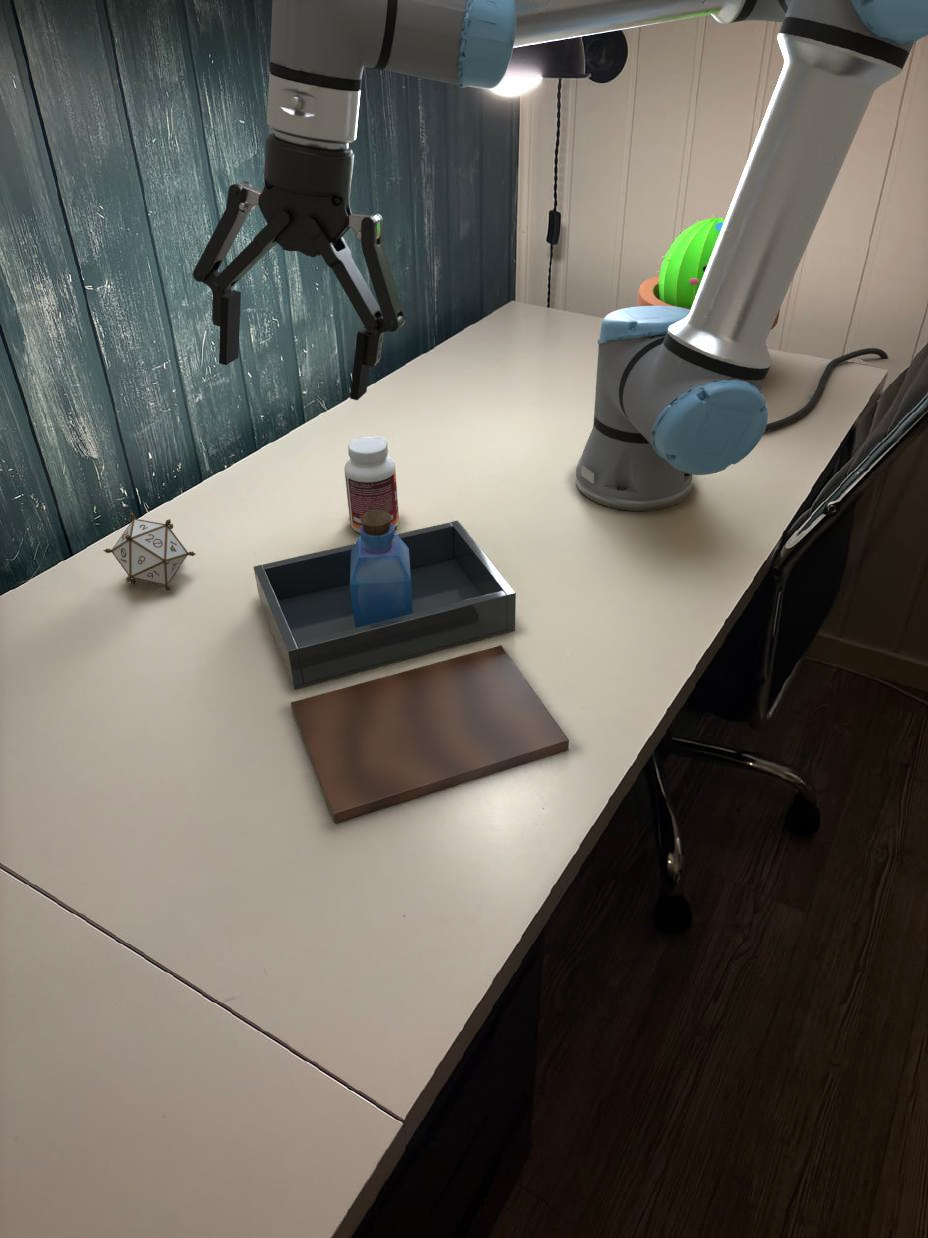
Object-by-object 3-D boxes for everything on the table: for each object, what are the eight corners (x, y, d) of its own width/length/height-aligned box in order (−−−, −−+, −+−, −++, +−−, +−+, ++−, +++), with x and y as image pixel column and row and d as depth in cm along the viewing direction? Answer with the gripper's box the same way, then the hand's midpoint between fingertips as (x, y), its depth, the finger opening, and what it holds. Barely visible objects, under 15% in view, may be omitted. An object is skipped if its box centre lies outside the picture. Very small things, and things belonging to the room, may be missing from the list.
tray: (458, 555, 109) (458, 520, 107) (515, 630, 98) (516, 592, 95) (260, 602, 102) (253, 566, 99) (294, 689, 90) (287, 651, 88)
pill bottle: (408, 527, 115) (403, 447, 108) (365, 542, 112) (357, 461, 106) (384, 506, 119) (377, 428, 112) (341, 521, 116) (332, 441, 110)
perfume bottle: (356, 598, 102) (345, 504, 95) (411, 595, 102) (405, 500, 95) (355, 632, 97) (344, 535, 90) (413, 628, 97) (407, 532, 90)
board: (501, 653, 94) (501, 644, 94) (568, 749, 83) (569, 740, 83) (291, 711, 88) (290, 702, 87) (334, 823, 77) (333, 814, 76)
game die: (181, 601, 109) (221, 538, 105) (135, 619, 101) (176, 552, 98) (126, 552, 110) (164, 488, 106) (77, 566, 102) (115, 497, 98)
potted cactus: (630, 348, 162) (644, 196, 147) (758, 352, 160) (785, 198, 145) (631, 399, 145) (647, 232, 130) (774, 404, 142) (807, 235, 127)
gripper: (153, 108, 76) (156, 356, 88) (438, 176, 74) (402, 422, 85) (197, 104, 83) (194, 336, 94) (461, 167, 80) (424, 397, 92)
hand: (293, 378), depth 90 cm, fingers open, 13 cm apart
